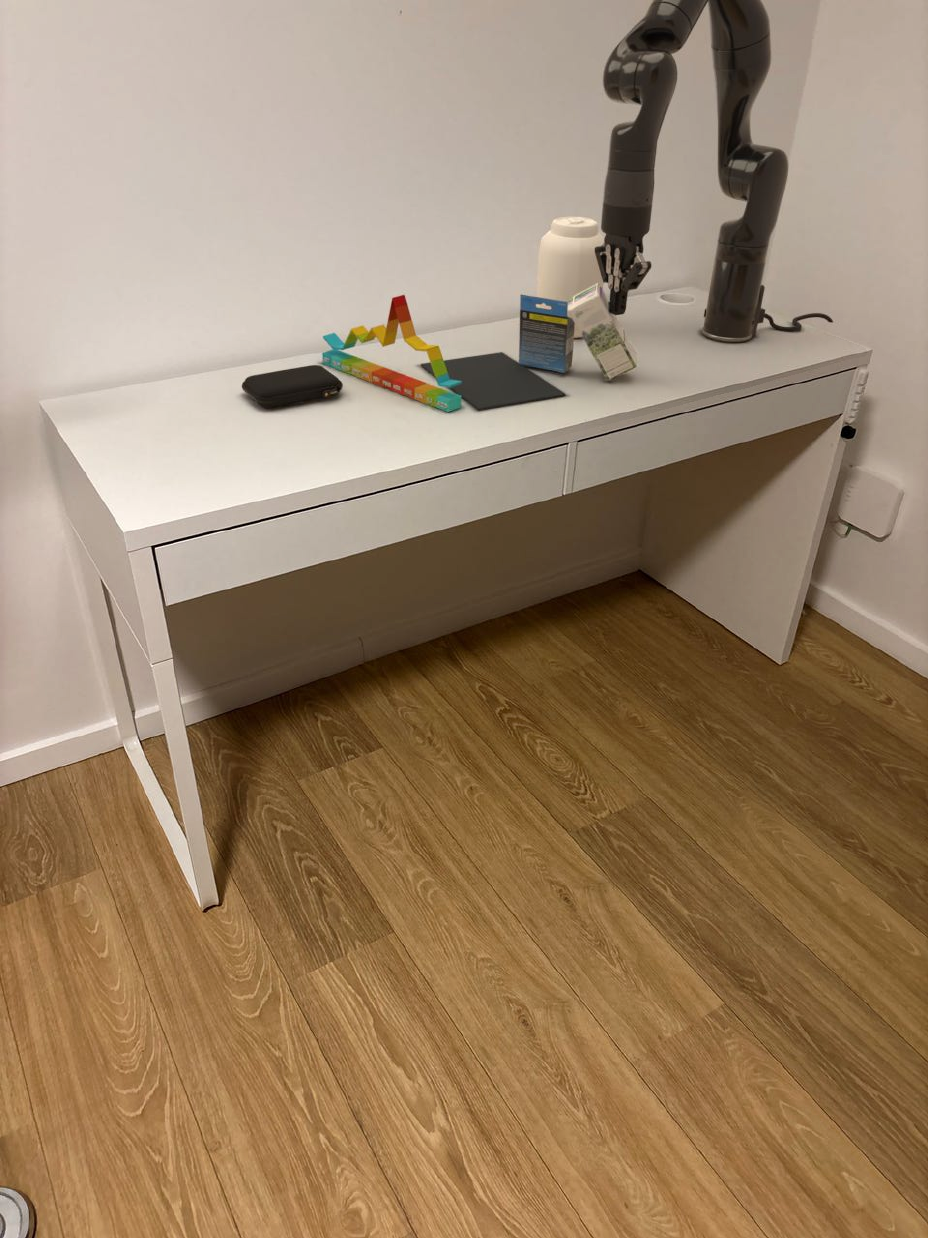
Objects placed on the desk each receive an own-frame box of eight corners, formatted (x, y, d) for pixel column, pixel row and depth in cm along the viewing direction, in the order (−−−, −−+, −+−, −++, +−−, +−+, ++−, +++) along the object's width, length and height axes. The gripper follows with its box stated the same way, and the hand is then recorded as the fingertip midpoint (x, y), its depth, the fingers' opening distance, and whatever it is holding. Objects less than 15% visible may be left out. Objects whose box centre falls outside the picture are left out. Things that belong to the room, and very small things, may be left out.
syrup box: (637, 353, 167) (598, 279, 160) (638, 367, 162) (598, 293, 155) (607, 368, 169) (568, 296, 162) (607, 383, 164) (566, 310, 157)
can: (538, 316, 194) (545, 210, 183) (601, 322, 192) (612, 214, 181) (529, 336, 184) (536, 224, 173) (595, 341, 182) (607, 229, 171)
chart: (321, 363, 169) (316, 275, 160) (335, 359, 171) (331, 271, 162) (447, 412, 152) (448, 316, 143) (461, 407, 154) (463, 312, 145)
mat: (501, 354, 175) (501, 351, 175) (565, 395, 159) (565, 393, 159) (420, 365, 169) (420, 363, 169) (478, 410, 153) (478, 408, 153)
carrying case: (264, 415, 149) (350, 398, 156) (262, 396, 147) (350, 380, 154) (239, 393, 156) (322, 377, 163) (237, 374, 155) (321, 360, 161)
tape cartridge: (573, 366, 169) (577, 295, 162) (564, 374, 166) (568, 302, 159) (526, 357, 172) (529, 287, 165) (517, 365, 169) (519, 294, 162)
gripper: (674, 205, 145) (659, 321, 155) (623, 189, 155) (613, 299, 164) (632, 210, 142) (620, 328, 152) (583, 193, 152) (575, 305, 162)
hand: (616, 313), depth 158 cm, fingers closed
